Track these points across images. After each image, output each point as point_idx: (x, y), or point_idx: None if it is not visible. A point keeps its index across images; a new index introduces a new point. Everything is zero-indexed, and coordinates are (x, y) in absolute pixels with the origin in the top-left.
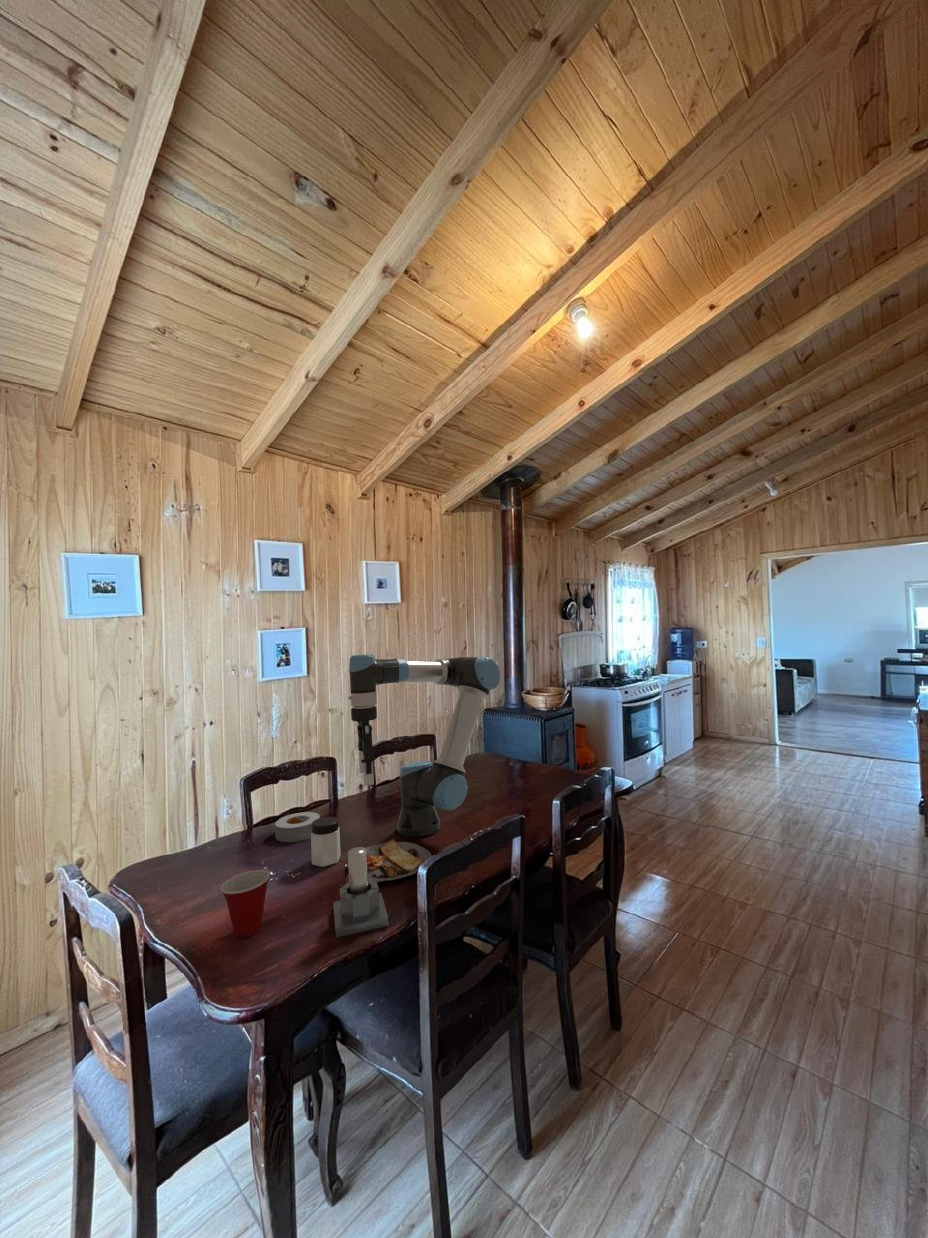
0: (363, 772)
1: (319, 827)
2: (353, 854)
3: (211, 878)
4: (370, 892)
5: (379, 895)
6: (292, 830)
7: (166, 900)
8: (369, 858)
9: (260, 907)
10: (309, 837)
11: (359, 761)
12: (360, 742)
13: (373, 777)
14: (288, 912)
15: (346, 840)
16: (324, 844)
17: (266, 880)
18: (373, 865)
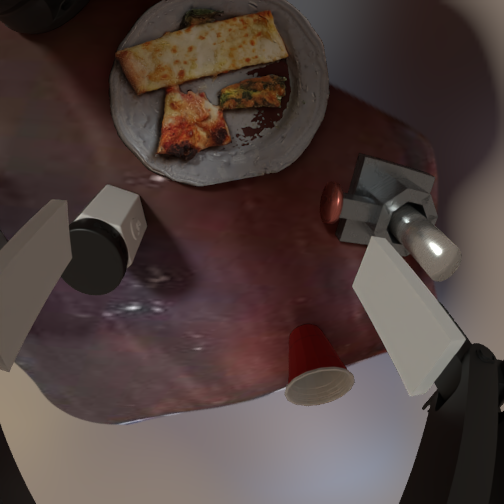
0: (67, 237)
1: (120, 280)
2: (451, 273)
3: (121, 370)
4: (431, 211)
5: (373, 164)
6: None
7: (167, 400)
8: (178, 127)
9: (331, 347)
10: (2, 236)
11: (38, 311)
12: (20, 479)
13: (405, 263)
14: (293, 293)
15: (30, 161)
16: (135, 246)
17: (345, 369)
18: (223, 127)
